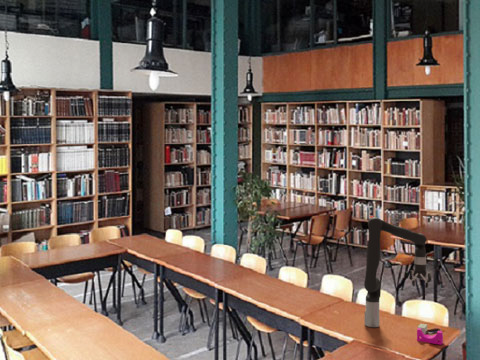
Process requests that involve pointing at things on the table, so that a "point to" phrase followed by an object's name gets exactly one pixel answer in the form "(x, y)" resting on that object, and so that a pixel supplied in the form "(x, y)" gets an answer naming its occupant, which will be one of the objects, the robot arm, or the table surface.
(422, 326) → the green brick
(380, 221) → the robot arm
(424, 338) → the toy block
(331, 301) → the table surface
